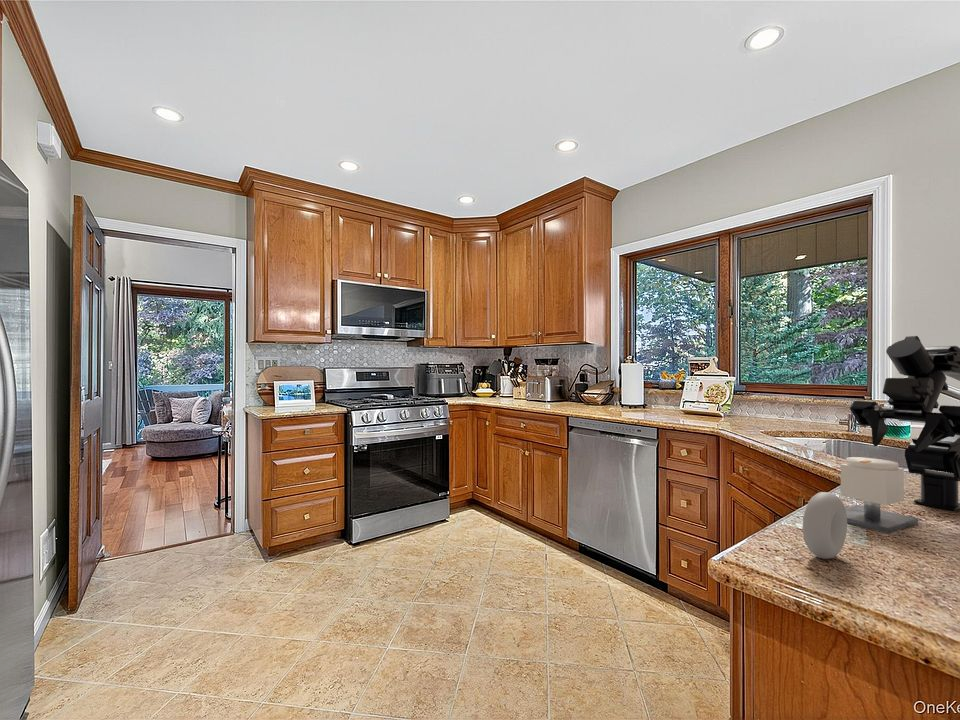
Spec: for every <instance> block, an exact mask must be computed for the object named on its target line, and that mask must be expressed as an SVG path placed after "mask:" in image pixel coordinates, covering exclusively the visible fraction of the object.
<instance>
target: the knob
mask: <svg viewBox="0 0 960 720" xmlns="http://www.w3.org/2000/svg"><path fill="white" fill-rule="evenodd" d="M904 471H905V470H904V467H899V463H898V462H897V461H892V460H888V459H880V458H875V457H874V458H872V457H859V456H857V457H856V456H853V457H851V456H850V457H846V458H845V463H840V497H841V496H842V497H846V498H850V499H856V500H860V501H863V502H864V501H869V502H874V503H878V504H880V505H883V506H888V505H892V504H895V503H899V502H904V501H905V481H904V480H905V478H904V477H905V476H904V475H905V474H904V473H905V472H904Z"/></svg>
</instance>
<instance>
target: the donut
mask: <svg viewBox="0 0 960 720" xmlns="http://www.w3.org/2000/svg"><path fill="white" fill-rule="evenodd" d="M845 508H846V506H845V505H844V502H843V501H842V499H841V498H840V497H839V496H837V495H836V494H834V493H832V492H828V491H827V492H826V491H820V492H817V493H816V494H814V495H813V496H812V497H810V499H809V501H808V503H807V504H806V507H805V510H804V514H803V519H802V520H803V521H802V535H803V539H804V543H805V545H806V547H807V550H808V551H809V552H810V553H812V554H813V555H814V556H815V557H817V558H819V559H824V560H827V559H833V558H835V557H837V555H838V554H840V552H841V550H842V549H843V547H844V544H845V542H846V538H847V537H846V536H847V533H848V532H847V531H848V523H847V514H846V509H845Z"/></svg>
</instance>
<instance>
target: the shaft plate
mask: <svg viewBox="0 0 960 720" xmlns="http://www.w3.org/2000/svg"><path fill="white" fill-rule="evenodd" d="M845 509H846V514H847V524H849V525H853V526H857V527H861V528H864V529H868V530H872V531H877V532H880V533H885V534H890V533H894V532H897V531H899V530H903V529H906V528H909V527H912V526H915V525H918V524H919V517H918V518H917V517H913V516H909V515H904V514H900V513H896V512H891V511H887V510H883V509H881V504H878V503H874V502H869V501H864V500H863V505H860V504H856V505H851V506H848V507H845Z"/></svg>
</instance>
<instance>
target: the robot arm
mask: <svg viewBox="0 0 960 720" xmlns="http://www.w3.org/2000/svg"><path fill="white" fill-rule="evenodd" d="M886 354H887V356H888V357H889V359H890V361H891V362H892V364H893V365H894V367H895V369H896V370H897V371H898V373H899V374H900V375H901V376H902V375H903V376H906V377H887V378H885V380H884V384H883V388H882V389H883V390H882V394H883V395H886V396H887V397H888V400H887V402H888V405H889V406H892V408H889V407H882V406H880V405H878V403H877V401H872V400H871V401H869V400H866V401H865V400H854V401H853V402H852V403H851V405H850V407H849V410H850V411H851V414H852V415H853V416H854V418H855V420H856V422H857V424H858V425H861V426H863V427H870V428H871V440H872V441H871V442H872V444H873V446H874V447H878V446H879V445H880V444H881V442H882V440H883V439H884V437H885V436H886V434H887V433H888V431H889V427H888V426H887V424H886V423H885V422H886V420H887V419H888V420H897V421H899V422H909V423H920V424H921V423H922V424H924V425H923V428H922V429H921V431H920V433H919V434H918V435H917V436H916V437H915V438H911V442H910V443H909V444H908V446H906V447H905V450H904V458H905V462H906V467H907V471H908V473H909V474H916V475H920V498H918V499H917V498H916V499H913V503H914V504H919V505H924V506H928V507H929V506H930V507H934V508H940V509H944V510H949V511H957V510H960V502H959V501H960V500H959V482H960V406H959V405H943V404H942V405H940V404H939V402H938V399H939V397H940V394H941V392H942V391H948V390H949V386H948V383H947V382H946V381H947V377H950V378H952V379H955V380H957V381H959V382H960V347H959V346H958V345H942V346H924V345H923V343H922V342H921V339H920V337H919V336H918V335H909V336H905V338H904V339H902V340H898V341H896V342H894V343H892V344H891V345H889V346H888V347H887V348H886ZM939 405H940V406H939ZM934 409H938V411H939V412H933V410H934Z"/></svg>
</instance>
